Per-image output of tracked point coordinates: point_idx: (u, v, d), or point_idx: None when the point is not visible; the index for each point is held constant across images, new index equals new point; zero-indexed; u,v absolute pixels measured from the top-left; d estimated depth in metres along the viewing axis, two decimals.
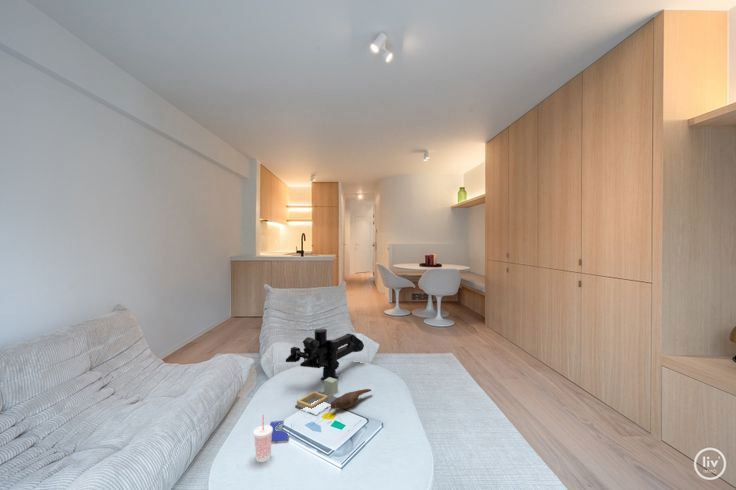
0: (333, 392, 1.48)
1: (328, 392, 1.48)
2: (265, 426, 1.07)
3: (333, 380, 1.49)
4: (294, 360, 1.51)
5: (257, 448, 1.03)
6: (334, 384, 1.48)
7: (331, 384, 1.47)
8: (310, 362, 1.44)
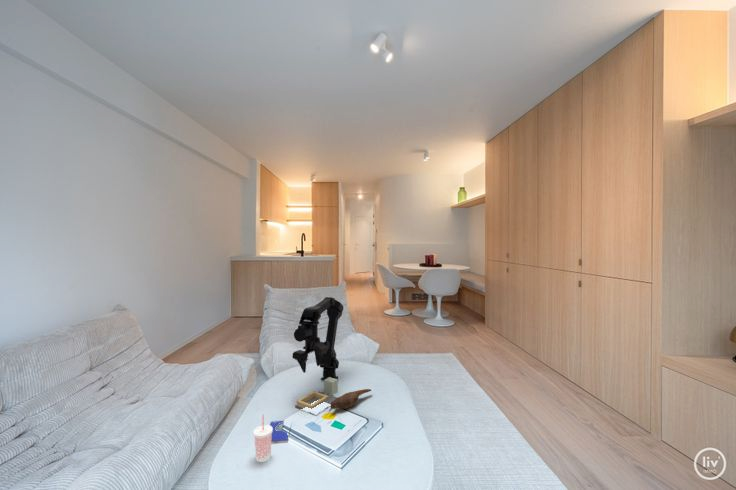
0: (333, 392, 1.48)
1: (328, 392, 1.48)
2: (265, 426, 1.07)
3: (333, 380, 1.49)
4: None
5: (257, 448, 1.03)
6: (334, 384, 1.49)
7: (331, 384, 1.47)
8: None
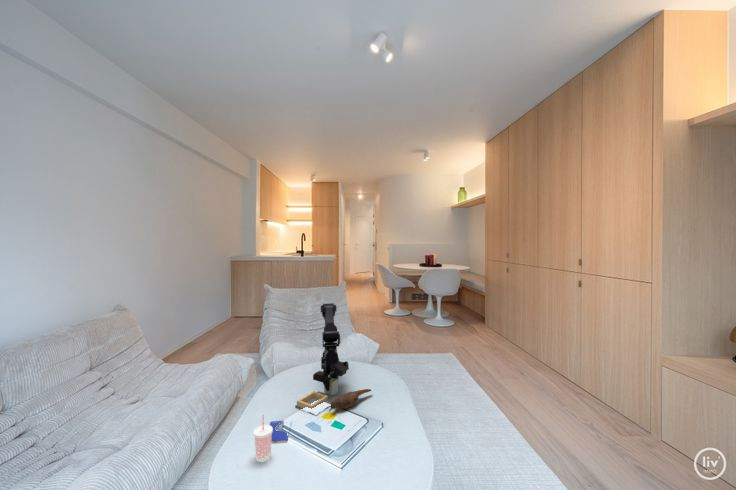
0: (333, 392, 1.48)
1: (328, 392, 1.48)
2: (265, 426, 1.07)
3: (333, 380, 1.49)
4: None
5: (257, 448, 1.03)
6: (334, 384, 1.48)
7: (331, 384, 1.47)
8: None
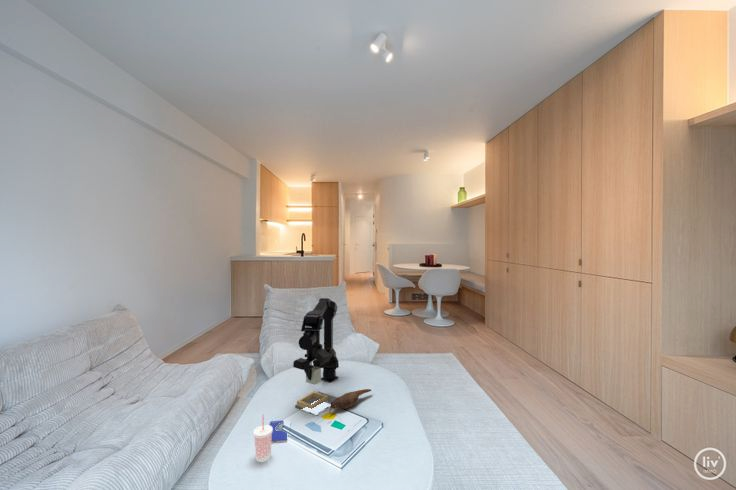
0: (316, 381, 1.36)
1: (310, 381, 1.36)
2: (265, 426, 1.07)
3: (316, 368, 1.38)
4: None
5: (257, 448, 1.03)
6: (317, 372, 1.37)
7: (313, 372, 1.35)
8: None
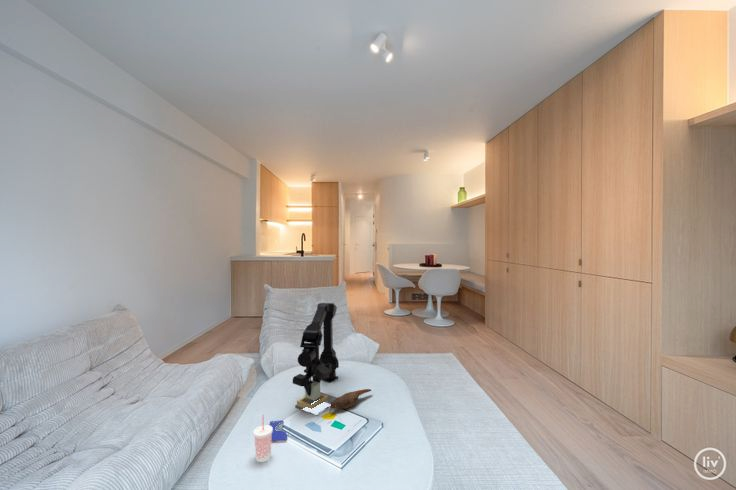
0: (315, 397, 1.36)
1: (310, 397, 1.36)
2: (265, 426, 1.07)
3: (315, 383, 1.37)
4: None
5: (257, 448, 1.03)
6: (317, 388, 1.37)
7: (313, 388, 1.35)
8: None
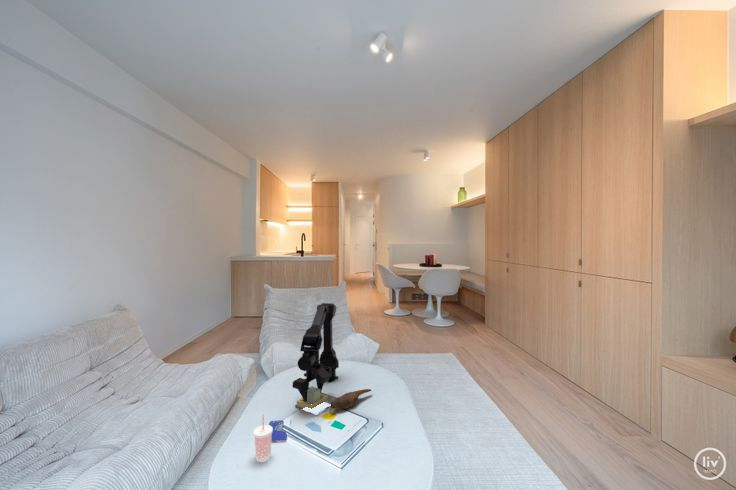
0: None
1: (310, 403, 1.36)
2: (265, 426, 1.07)
3: (315, 389, 1.38)
4: None
5: (257, 448, 1.03)
6: (317, 394, 1.37)
7: (313, 394, 1.35)
8: None
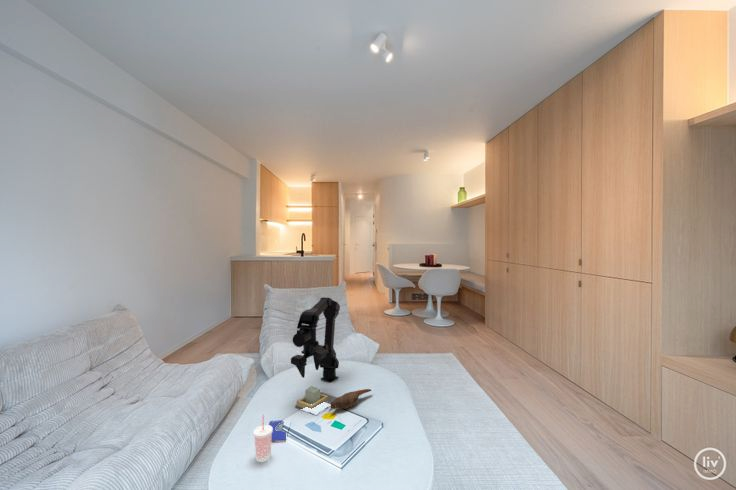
0: None
1: (310, 403, 1.36)
2: (265, 426, 1.07)
3: (315, 389, 1.38)
4: None
5: (257, 448, 1.03)
6: (317, 394, 1.37)
7: (313, 394, 1.35)
8: None
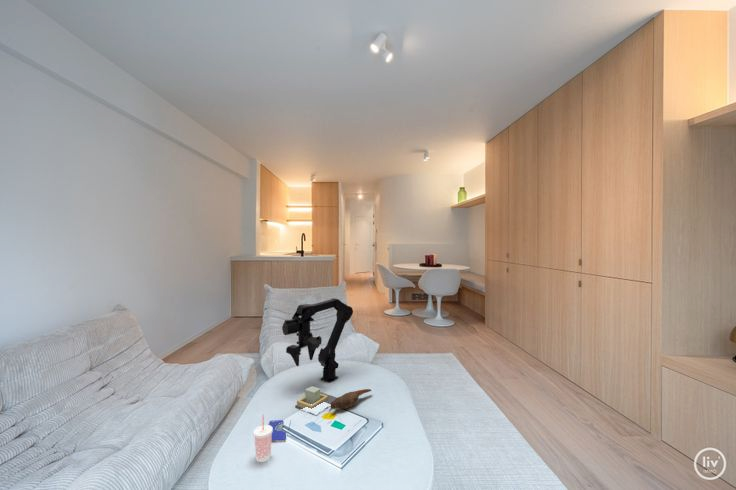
0: None
1: (310, 403, 1.36)
2: (265, 426, 1.07)
3: (315, 389, 1.38)
4: None
5: (257, 448, 1.03)
6: (317, 394, 1.37)
7: (313, 394, 1.35)
8: None
